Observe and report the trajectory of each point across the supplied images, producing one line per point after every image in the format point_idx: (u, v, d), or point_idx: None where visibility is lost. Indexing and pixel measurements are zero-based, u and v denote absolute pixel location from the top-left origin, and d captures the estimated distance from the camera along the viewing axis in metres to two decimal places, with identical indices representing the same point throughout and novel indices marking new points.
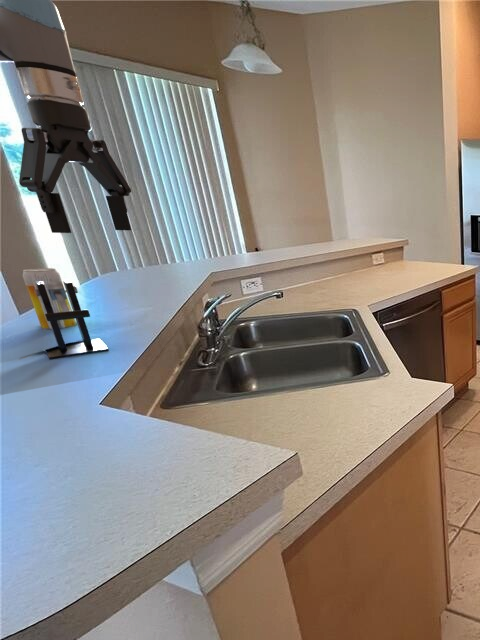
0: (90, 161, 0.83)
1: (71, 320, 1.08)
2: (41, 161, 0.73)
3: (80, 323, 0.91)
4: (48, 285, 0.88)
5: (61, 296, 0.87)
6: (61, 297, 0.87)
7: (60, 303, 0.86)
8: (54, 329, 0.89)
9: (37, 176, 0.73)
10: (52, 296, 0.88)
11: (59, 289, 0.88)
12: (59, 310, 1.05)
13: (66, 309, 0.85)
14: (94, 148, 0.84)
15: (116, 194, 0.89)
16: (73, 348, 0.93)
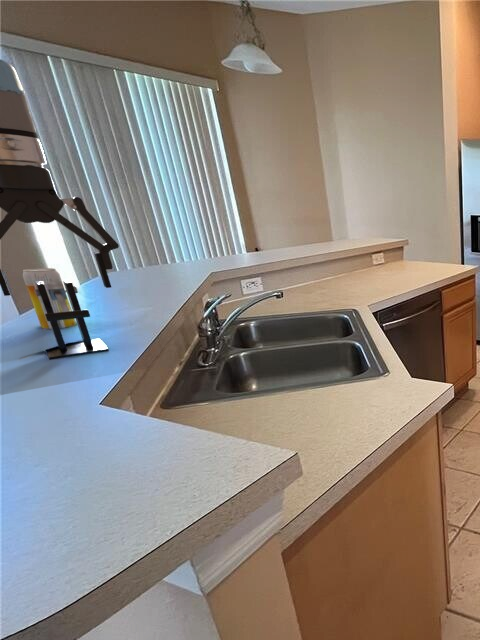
0: None
1: (71, 320, 1.08)
2: None
3: (80, 323, 0.91)
4: (48, 285, 0.88)
5: (61, 296, 0.87)
6: (61, 297, 0.87)
7: (60, 303, 0.86)
8: (54, 329, 0.89)
9: None
10: (52, 296, 0.88)
11: (59, 289, 0.88)
12: (59, 310, 1.05)
13: (66, 309, 0.85)
14: (69, 206, 0.81)
15: (99, 251, 0.85)
16: (73, 348, 0.93)
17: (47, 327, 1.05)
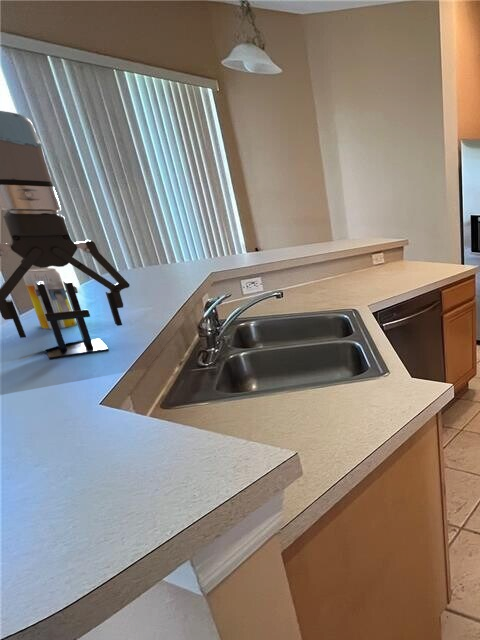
0: None
1: (71, 320, 1.08)
2: None
3: (80, 323, 0.91)
4: (48, 285, 0.88)
5: (61, 296, 0.87)
6: (61, 297, 0.87)
7: (60, 303, 0.86)
8: (54, 329, 0.89)
9: None
10: (52, 296, 0.88)
11: (59, 289, 0.88)
12: (59, 310, 1.05)
13: (66, 309, 0.85)
14: (82, 249, 0.83)
15: (110, 290, 0.88)
16: (73, 348, 0.93)
17: (47, 327, 1.05)
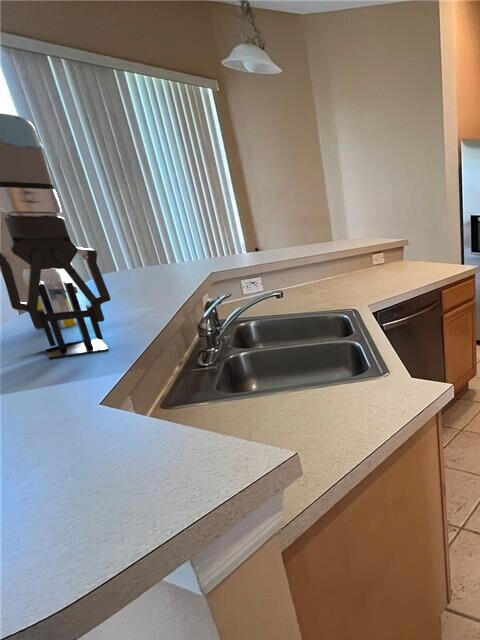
0: None
1: (71, 320, 1.08)
2: (11, 283, 0.77)
3: (80, 323, 0.91)
4: (48, 285, 0.88)
5: (61, 296, 0.87)
6: (61, 297, 0.87)
7: (60, 303, 0.86)
8: (54, 329, 0.89)
9: (13, 300, 0.78)
10: (52, 296, 0.88)
11: (59, 289, 0.88)
12: (59, 310, 1.05)
13: (66, 309, 0.85)
14: (81, 255, 0.84)
15: (90, 303, 0.86)
16: (73, 348, 0.93)
17: None
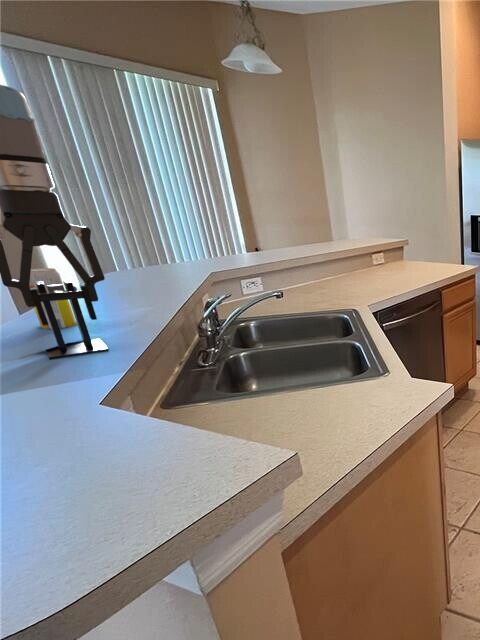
0: None
1: (71, 320, 1.08)
2: (2, 259, 0.76)
3: (80, 323, 0.91)
4: (48, 285, 0.88)
5: (59, 290, 0.87)
6: (59, 290, 0.87)
7: (56, 291, 0.85)
8: (54, 329, 0.89)
9: (4, 276, 0.76)
10: None
11: (58, 286, 0.88)
12: (59, 310, 1.05)
13: None
14: (75, 232, 0.82)
15: None
16: (73, 348, 0.93)
17: (47, 327, 1.05)
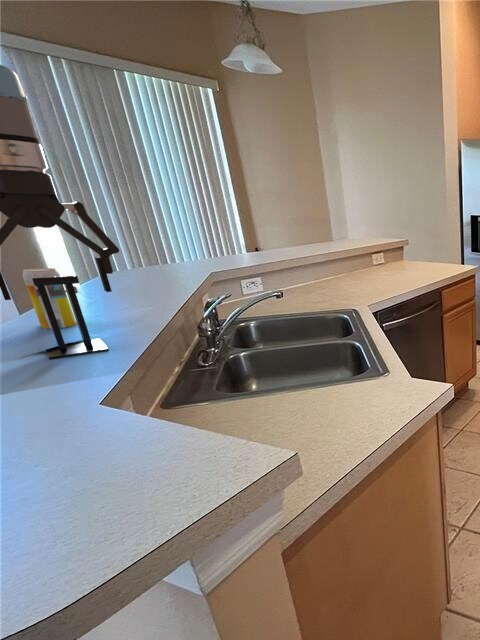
0: None
1: (71, 320, 1.08)
2: None
3: (80, 323, 0.91)
4: None
5: None
6: None
7: None
8: (54, 329, 0.89)
9: None
10: (51, 291, 0.87)
11: None
12: (59, 310, 1.05)
13: None
14: (70, 211, 0.81)
15: (99, 255, 0.85)
16: (73, 348, 0.93)
17: (47, 327, 1.05)
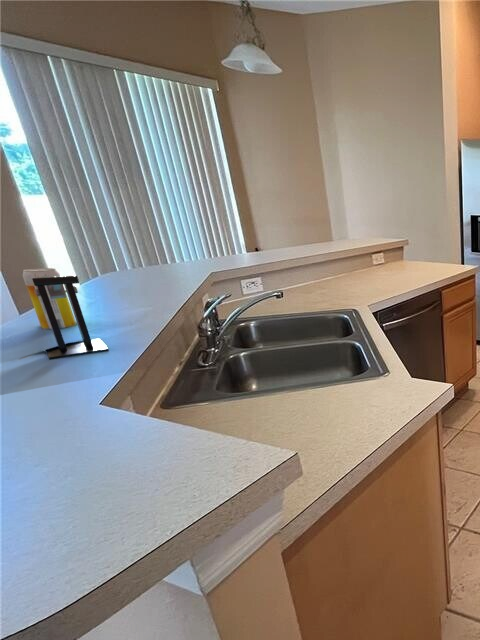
0: None
1: (71, 320, 1.08)
2: None
3: (80, 323, 0.91)
4: None
5: None
6: None
7: None
8: (54, 329, 0.89)
9: None
10: (51, 291, 0.87)
11: None
12: (59, 310, 1.05)
13: None
14: None
15: None
16: (73, 348, 0.93)
17: (47, 327, 1.05)
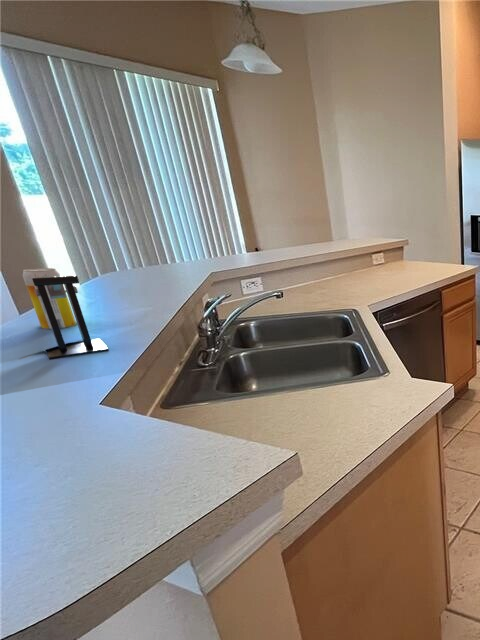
0: None
1: (71, 320, 1.08)
2: None
3: (80, 323, 0.91)
4: None
5: None
6: None
7: None
8: (54, 329, 0.89)
9: None
10: (51, 291, 0.87)
11: None
12: (59, 310, 1.05)
13: None
14: None
15: None
16: (73, 348, 0.93)
17: (47, 327, 1.05)
